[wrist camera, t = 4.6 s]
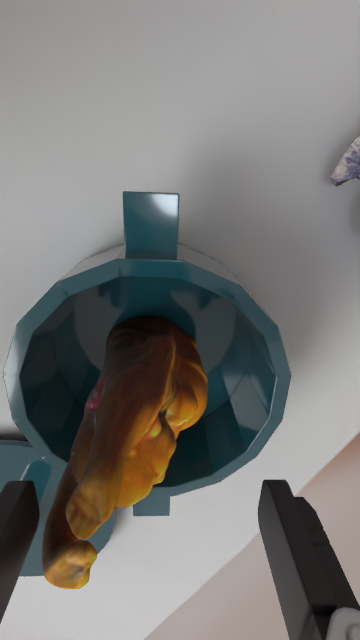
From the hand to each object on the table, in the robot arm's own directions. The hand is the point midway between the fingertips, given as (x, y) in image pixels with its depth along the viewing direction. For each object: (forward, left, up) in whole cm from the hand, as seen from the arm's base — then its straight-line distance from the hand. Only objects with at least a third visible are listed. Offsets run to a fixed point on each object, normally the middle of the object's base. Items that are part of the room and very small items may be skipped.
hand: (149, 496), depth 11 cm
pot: (0, 0, -11) cm, 11 cm away
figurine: (0, 0, -11) cm, 11 cm away
